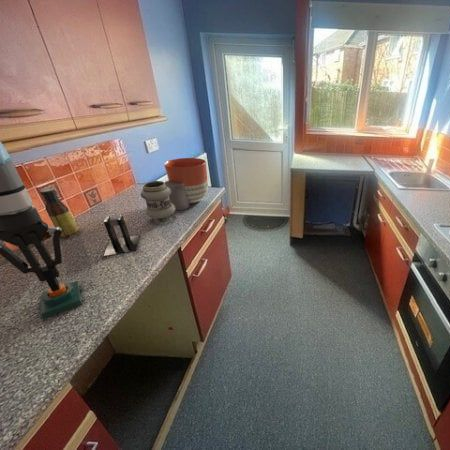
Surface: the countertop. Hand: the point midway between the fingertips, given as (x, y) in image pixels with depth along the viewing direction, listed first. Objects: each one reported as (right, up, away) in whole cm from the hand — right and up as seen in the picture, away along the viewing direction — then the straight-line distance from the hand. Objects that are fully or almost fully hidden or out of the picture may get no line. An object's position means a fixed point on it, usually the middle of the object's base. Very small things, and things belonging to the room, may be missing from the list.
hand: (55, 287), depth 68 cm
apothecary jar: (+3, +19, +47) cm, 51 cm away
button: (0, -2, +1) cm, 2 cm away
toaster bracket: (0, +8, +27) cm, 28 cm away
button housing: (0, -5, +3) cm, 5 cm away
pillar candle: (+5, +26, +61) cm, 66 cm away
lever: (-2, +16, +27) cm, 32 cm away
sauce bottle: (-27, +13, +33) cm, 45 cm away
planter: (+8, +30, +68) cm, 75 cm away
